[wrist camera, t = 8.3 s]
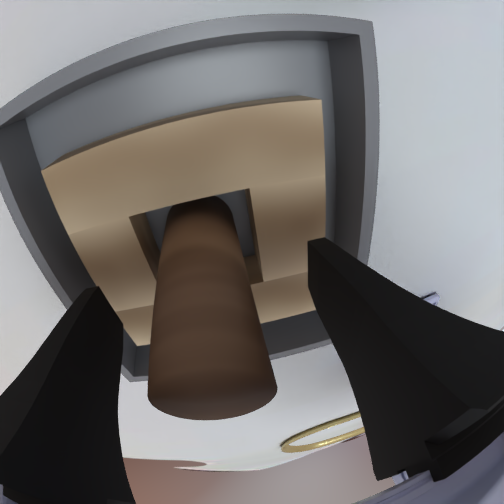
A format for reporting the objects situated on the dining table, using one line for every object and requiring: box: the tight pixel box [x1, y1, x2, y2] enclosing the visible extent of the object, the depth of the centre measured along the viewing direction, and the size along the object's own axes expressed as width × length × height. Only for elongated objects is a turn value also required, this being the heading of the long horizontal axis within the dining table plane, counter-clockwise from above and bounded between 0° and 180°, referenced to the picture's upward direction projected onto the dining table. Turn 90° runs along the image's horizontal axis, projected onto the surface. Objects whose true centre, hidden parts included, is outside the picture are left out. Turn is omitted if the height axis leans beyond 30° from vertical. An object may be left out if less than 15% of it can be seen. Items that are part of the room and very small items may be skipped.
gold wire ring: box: [281, 412, 365, 453], centre depth 42 cm, size 19×35×2 cm, turn 92°
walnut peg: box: [148, 195, 277, 420], centre depth 9 cm, size 3×3×8 cm
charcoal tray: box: [0, 14, 379, 382], centre depth 11 cm, size 16×14×3 cm
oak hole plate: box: [41, 95, 326, 346], centre depth 11 cm, size 10×10×2 cm
